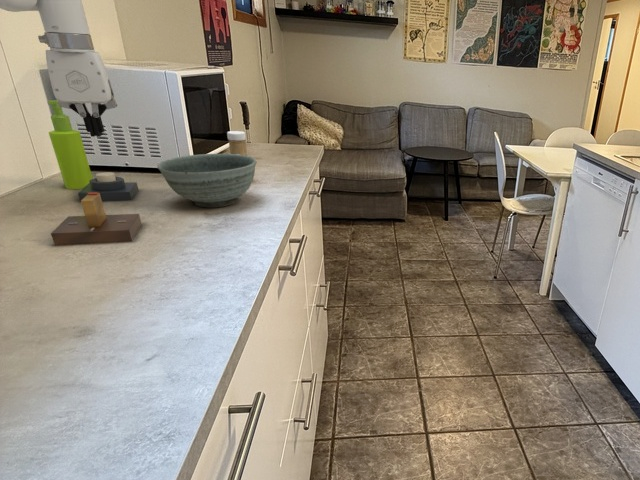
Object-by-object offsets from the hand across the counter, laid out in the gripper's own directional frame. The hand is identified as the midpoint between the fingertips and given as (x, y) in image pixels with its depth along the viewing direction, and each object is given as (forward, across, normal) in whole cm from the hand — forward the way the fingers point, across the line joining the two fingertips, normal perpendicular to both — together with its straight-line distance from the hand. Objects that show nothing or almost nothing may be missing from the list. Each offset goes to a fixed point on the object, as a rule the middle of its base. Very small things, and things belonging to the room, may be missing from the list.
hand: (97, 135), depth 106 cm
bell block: (+14, -1, 0) cm, 14 cm away
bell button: (+10, -1, 0) cm, 10 cm away
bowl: (+14, +22, -8) cm, 28 cm away
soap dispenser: (+14, -9, +10) cm, 19 cm away
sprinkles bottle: (+15, +28, +12) cm, 34 cm away
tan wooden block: (+11, +3, -28) cm, 31 cm away
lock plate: (+14, +3, -28) cm, 32 cm away
